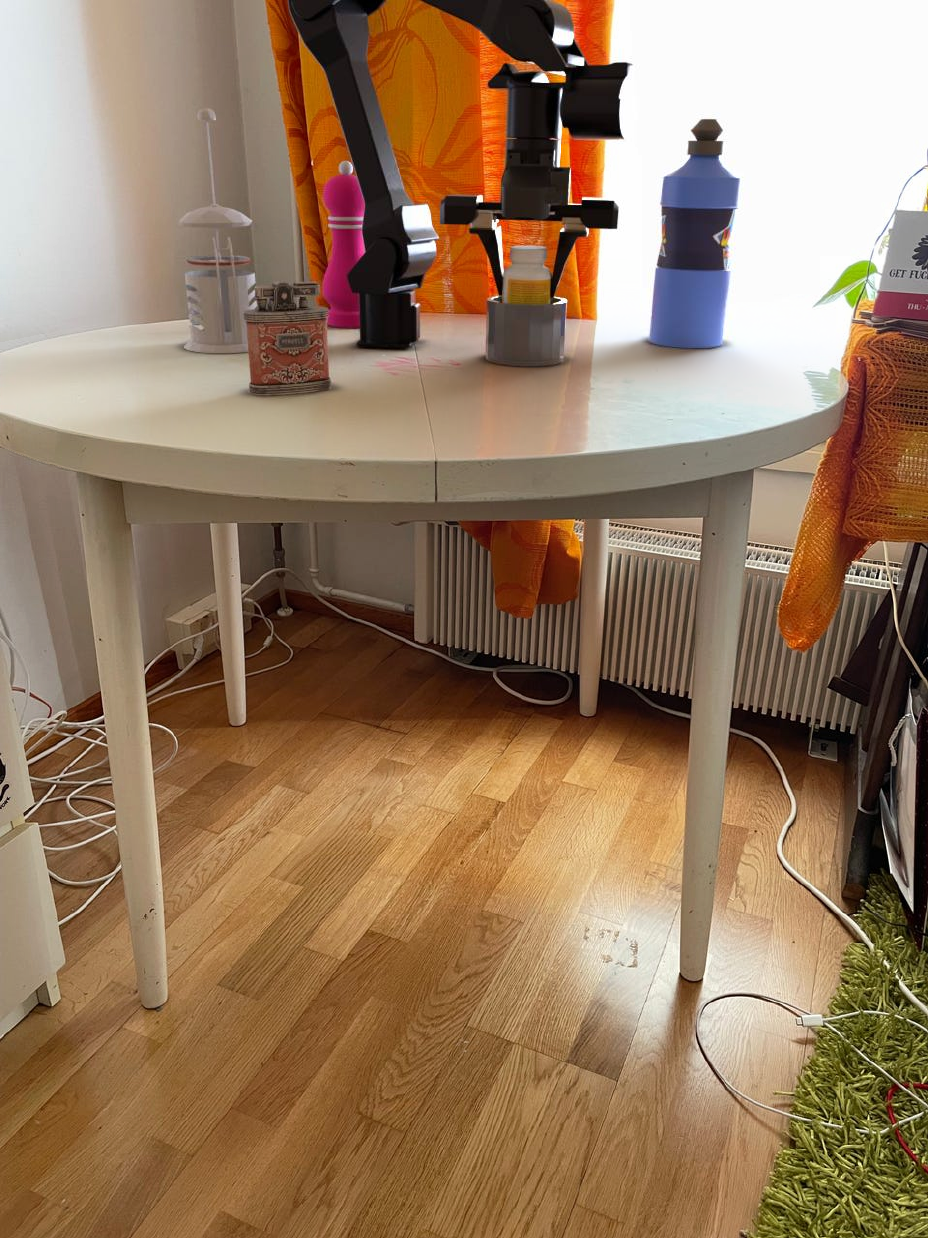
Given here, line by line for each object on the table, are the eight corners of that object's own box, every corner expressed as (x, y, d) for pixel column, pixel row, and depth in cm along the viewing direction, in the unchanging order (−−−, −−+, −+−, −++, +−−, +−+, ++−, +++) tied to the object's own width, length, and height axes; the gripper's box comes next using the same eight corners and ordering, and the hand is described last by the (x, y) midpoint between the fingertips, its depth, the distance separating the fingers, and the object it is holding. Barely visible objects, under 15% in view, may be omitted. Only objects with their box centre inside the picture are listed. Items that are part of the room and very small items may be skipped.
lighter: (255, 397, 92) (247, 285, 88) (245, 389, 95) (236, 280, 91) (336, 389, 96) (332, 281, 92) (324, 382, 99) (319, 277, 94)
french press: (262, 337, 122) (246, 110, 112) (276, 353, 112) (260, 106, 102) (180, 340, 120) (156, 108, 109) (187, 357, 110) (161, 103, 99)
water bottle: (640, 344, 122) (660, 117, 111) (656, 333, 130) (676, 120, 119) (716, 350, 119) (744, 117, 108) (728, 339, 127) (755, 120, 116)
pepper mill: (368, 329, 129) (364, 160, 120) (316, 327, 130) (308, 159, 122) (384, 321, 135) (381, 161, 127) (333, 319, 137) (327, 160, 128)
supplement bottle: (492, 335, 112) (495, 245, 108) (533, 332, 114) (537, 244, 110) (515, 343, 108) (518, 249, 104) (557, 340, 110) (562, 248, 106)
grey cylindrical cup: (481, 364, 109) (482, 303, 106) (490, 350, 116) (491, 293, 114) (561, 367, 108) (565, 305, 105) (565, 353, 115) (568, 295, 113)
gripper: (431, 135, 96) (431, 302, 103) (624, 139, 94) (611, 309, 101) (448, 137, 106) (446, 289, 113) (623, 141, 104) (611, 295, 111)
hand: (526, 296), depth 109 cm, fingers closed on supplement bottle, 5 cm apart
